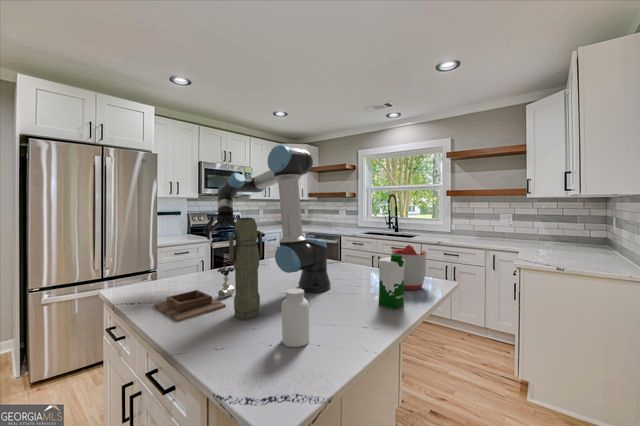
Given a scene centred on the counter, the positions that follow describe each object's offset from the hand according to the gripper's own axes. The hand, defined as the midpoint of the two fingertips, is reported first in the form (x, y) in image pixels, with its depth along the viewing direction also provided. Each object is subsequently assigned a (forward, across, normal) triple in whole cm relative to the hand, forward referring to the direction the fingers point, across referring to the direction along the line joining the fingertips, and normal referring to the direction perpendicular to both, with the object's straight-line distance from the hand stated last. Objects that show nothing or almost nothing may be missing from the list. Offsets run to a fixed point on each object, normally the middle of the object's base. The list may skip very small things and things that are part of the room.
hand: (226, 244), depth 136 cm
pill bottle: (+57, -18, +28) cm, 66 cm away
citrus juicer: (+32, -83, +4) cm, 89 cm away
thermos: (+40, -7, +11) cm, 42 cm away
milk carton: (+45, -61, +17) cm, 78 cm away
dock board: (+29, +14, 0) cm, 32 cm away
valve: (+24, 0, -6) cm, 24 cm away
